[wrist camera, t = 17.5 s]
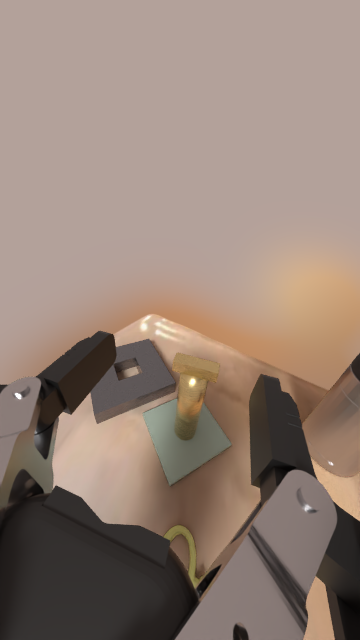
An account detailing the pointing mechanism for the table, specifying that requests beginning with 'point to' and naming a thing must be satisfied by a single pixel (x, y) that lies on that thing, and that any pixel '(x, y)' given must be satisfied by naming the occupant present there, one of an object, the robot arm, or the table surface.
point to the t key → (191, 391)
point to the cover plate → (131, 381)
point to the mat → (183, 441)
